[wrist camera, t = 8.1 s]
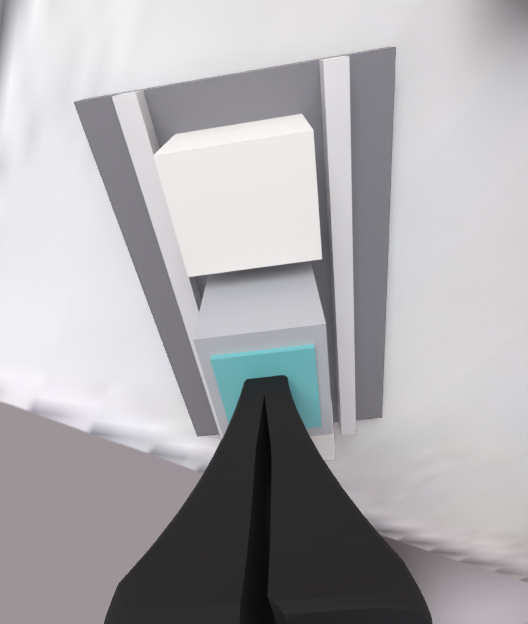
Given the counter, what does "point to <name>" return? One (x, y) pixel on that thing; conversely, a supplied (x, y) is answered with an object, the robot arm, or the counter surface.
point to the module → (265, 339)
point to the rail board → (363, 202)
